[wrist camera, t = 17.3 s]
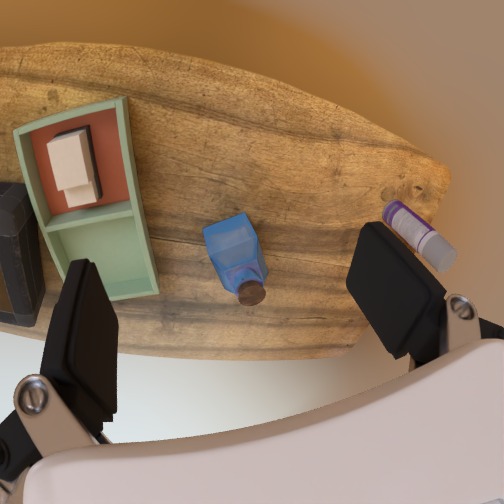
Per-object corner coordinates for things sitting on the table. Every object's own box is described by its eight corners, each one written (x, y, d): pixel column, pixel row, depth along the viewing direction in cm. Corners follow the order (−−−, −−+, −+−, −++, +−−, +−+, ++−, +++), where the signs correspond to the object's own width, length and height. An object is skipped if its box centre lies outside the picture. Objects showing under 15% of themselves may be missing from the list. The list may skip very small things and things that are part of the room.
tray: (79, 289, 40) (75, 306, 37) (25, 124, 24) (12, 131, 21) (159, 277, 42) (159, 293, 40) (127, 95, 27) (122, 98, 24)
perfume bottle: (216, 261, 43) (234, 321, 34) (202, 228, 40) (217, 288, 30) (255, 246, 44) (283, 302, 34) (244, 212, 40) (272, 266, 31)
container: (405, 209, 48) (459, 257, 36) (388, 226, 49) (440, 278, 38) (395, 194, 45) (455, 243, 34) (378, 213, 47) (434, 266, 35)
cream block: (56, 133, 25) (44, 142, 22) (89, 124, 26) (80, 132, 23) (72, 201, 31) (63, 216, 28) (103, 194, 32) (97, 209, 29)
